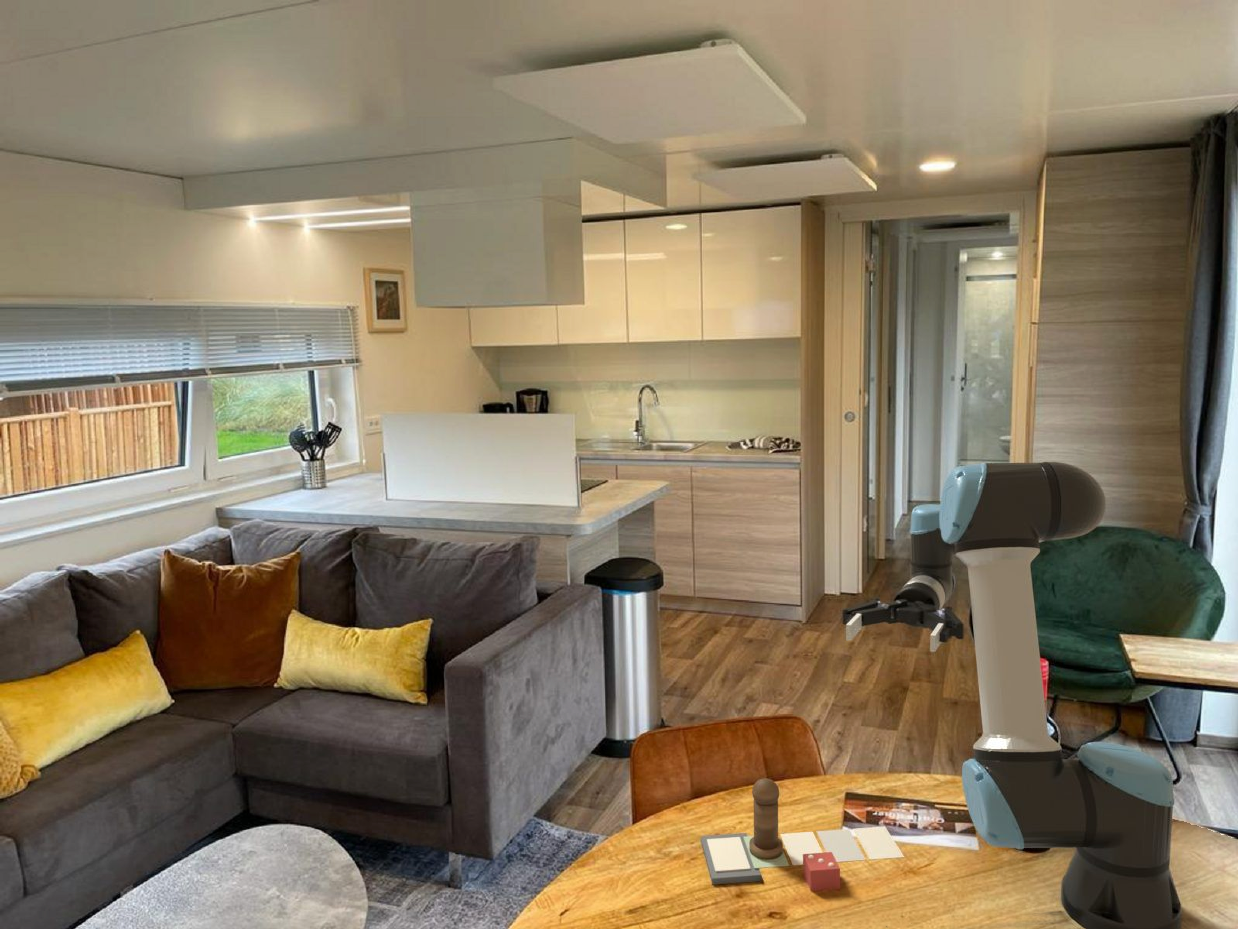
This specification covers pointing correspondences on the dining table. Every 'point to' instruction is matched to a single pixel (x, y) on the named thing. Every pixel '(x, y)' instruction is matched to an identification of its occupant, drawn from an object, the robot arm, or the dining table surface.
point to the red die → (821, 871)
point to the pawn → (765, 821)
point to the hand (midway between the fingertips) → (889, 638)
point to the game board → (791, 851)
